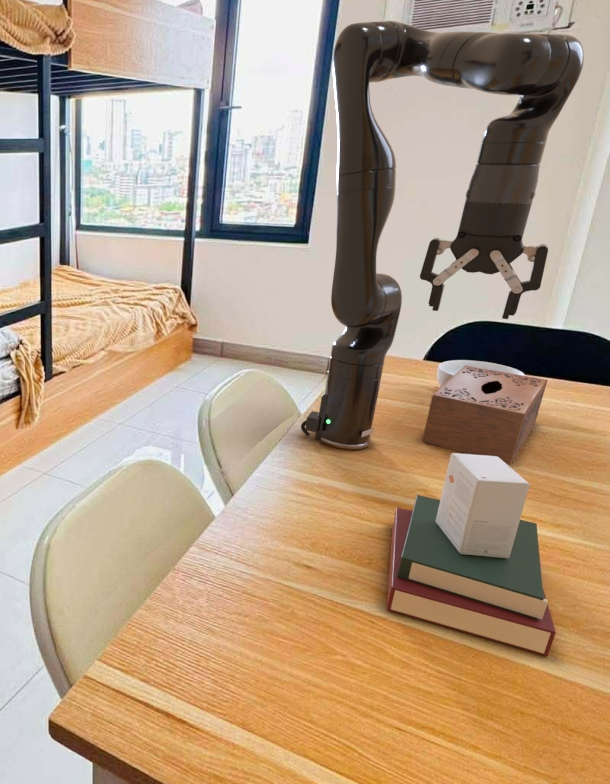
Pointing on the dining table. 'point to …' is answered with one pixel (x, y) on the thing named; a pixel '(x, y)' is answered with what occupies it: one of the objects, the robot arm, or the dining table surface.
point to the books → (468, 582)
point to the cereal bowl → (452, 367)
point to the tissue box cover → (484, 412)
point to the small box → (481, 505)
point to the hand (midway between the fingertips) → (469, 313)
